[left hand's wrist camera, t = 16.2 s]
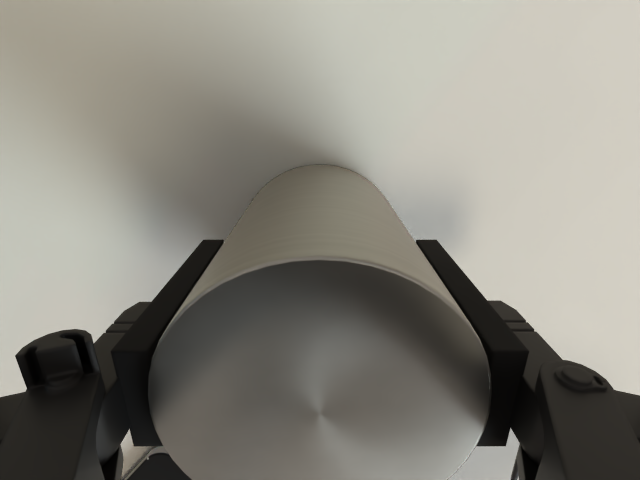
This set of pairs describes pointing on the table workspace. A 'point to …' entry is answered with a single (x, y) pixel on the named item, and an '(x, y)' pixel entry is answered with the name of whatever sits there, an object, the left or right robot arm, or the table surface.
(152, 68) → the table surface
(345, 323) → the can
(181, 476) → the smartphone
